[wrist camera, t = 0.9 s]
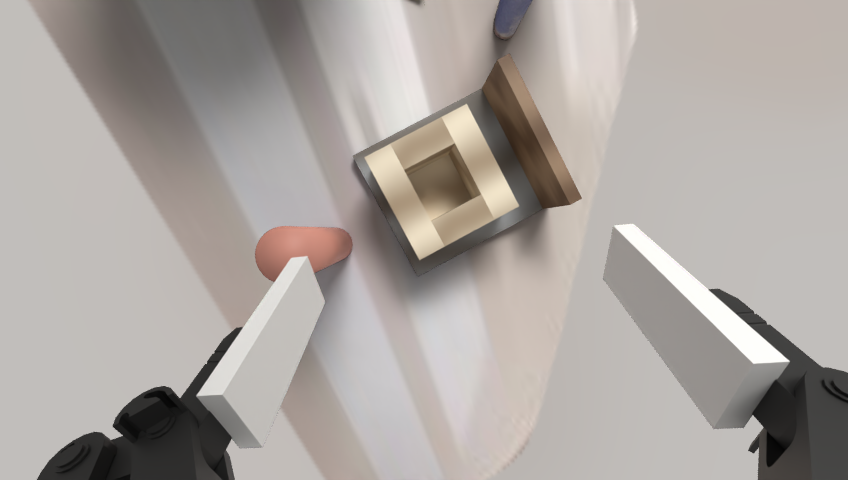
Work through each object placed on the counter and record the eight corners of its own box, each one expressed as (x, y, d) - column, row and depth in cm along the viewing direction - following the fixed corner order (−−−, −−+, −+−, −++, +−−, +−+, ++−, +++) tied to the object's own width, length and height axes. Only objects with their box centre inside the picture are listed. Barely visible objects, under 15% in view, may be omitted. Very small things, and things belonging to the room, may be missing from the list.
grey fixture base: (354, 158, 33) (341, 140, 26) (489, 87, 34) (509, 53, 27) (417, 275, 34) (420, 286, 27) (548, 204, 34) (581, 198, 28)
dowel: (312, 237, 33) (244, 243, 19) (342, 221, 33) (296, 216, 19) (328, 267, 33) (273, 293, 19) (358, 251, 33) (324, 266, 19)
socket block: (370, 168, 32) (364, 157, 27) (457, 123, 32) (466, 103, 27) (417, 255, 32) (419, 260, 27) (501, 209, 33) (519, 206, 28)
